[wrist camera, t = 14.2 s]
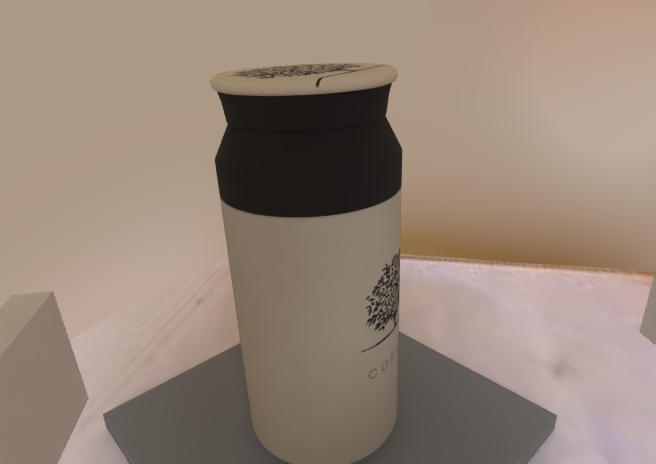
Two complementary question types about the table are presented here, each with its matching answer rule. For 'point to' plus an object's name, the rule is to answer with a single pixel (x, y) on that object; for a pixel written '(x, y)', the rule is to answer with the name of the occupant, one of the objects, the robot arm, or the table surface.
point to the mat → (388, 460)
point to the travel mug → (314, 253)
